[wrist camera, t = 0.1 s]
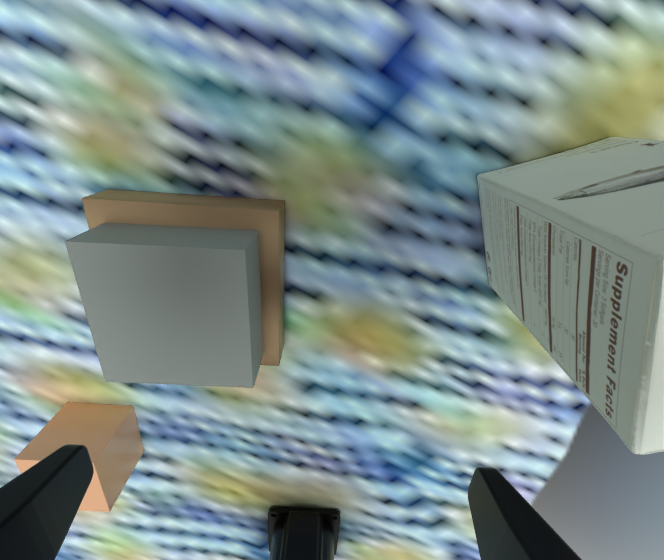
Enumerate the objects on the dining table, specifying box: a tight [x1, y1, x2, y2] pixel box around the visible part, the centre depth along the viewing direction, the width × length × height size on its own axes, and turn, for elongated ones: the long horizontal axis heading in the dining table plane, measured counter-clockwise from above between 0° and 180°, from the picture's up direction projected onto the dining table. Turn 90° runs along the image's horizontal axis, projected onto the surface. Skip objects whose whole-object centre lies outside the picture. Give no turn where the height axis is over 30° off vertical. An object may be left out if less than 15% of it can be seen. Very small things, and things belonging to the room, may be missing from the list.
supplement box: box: [477, 137, 664, 454], centre depth 15 cm, size 7×7×13 cm
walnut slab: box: [82, 189, 285, 366], centre depth 22 cm, size 10×10×3 cm
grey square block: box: [65, 223, 263, 388], centre depth 19 cm, size 8×8×3 cm
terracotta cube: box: [14, 402, 144, 512], centre depth 26 cm, size 5×5×5 cm
